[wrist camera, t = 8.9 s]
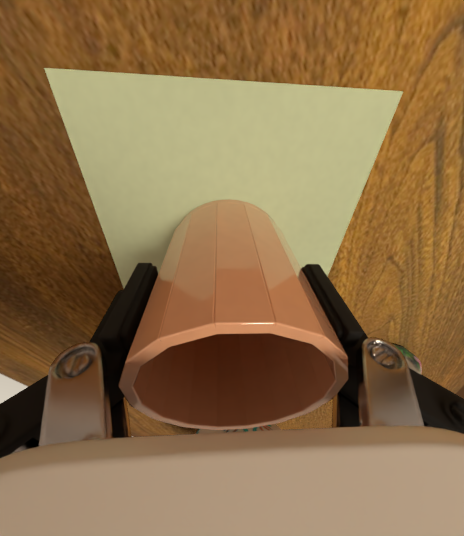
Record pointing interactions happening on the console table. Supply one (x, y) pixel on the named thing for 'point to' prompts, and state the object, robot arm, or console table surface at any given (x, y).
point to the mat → (219, 155)
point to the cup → (232, 328)
